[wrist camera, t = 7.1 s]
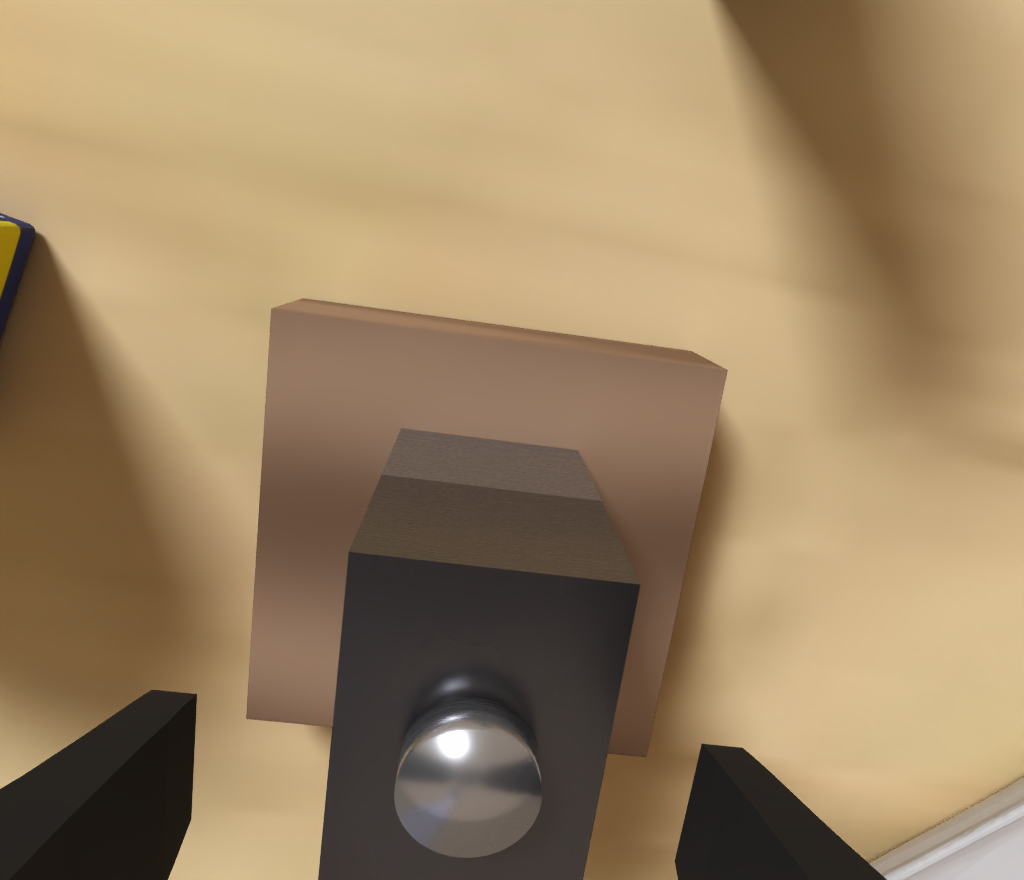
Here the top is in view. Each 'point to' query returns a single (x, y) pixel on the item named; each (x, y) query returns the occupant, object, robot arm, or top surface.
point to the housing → (476, 666)
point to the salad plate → (966, 844)
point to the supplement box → (12, 260)
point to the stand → (475, 413)
